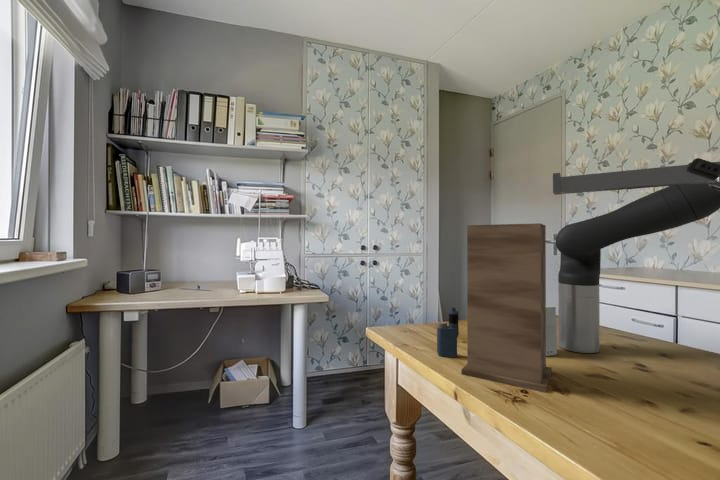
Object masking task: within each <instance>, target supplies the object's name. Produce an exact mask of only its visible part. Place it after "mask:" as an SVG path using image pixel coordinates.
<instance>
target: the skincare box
mask: <svg viewBox="0 0 720 480" xmlns="http://www.w3.org/2000/svg"><path fill="white" fill-rule="evenodd" d="M556 314H557V313H556V306H551V305H546V357H551V356H555V355H557V354H558V342H557V341H558V336H557V333H558V332H557V316H556Z"/></svg>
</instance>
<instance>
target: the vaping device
mask: <svg viewBox="0 0 720 480" xmlns="http://www.w3.org/2000/svg"><path fill="white" fill-rule="evenodd" d="M459 334H460V332H459V311H458V310H456V307H451V310H448V322H446V321H440V322H438V325H437V329H436V353H437V355H438V357H443V358H458V356H459V355H458V336H459Z"/></svg>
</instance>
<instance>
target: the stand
mask: <svg viewBox="0 0 720 480" xmlns="http://www.w3.org/2000/svg"><path fill="white" fill-rule="evenodd" d="M466 227H467V228H466V231H467V232H466V233H467V236H466V237H467V239H466V241H467V246H466V247H467V248H466V249H467V250H466V253H467V254H466V259H467V262H466V265H467V267H466V269H467V270H466V272H467V273H466V275H467V279H466V281H467V285H466V288H467V289H466V291H467V292H466V293H467V294H466V295H467V297H466V298H467V299H466V300H467V304H466V305H467V307H466V309H467V314H466V315H467V316H466V317H467V336H466V337H467V340H466V341H467V363H466V364H465V366H463V367H462V369H461V375H463V376H469V377H472V378H473V377H474V378H478V379H482V380H486V381H491V382H496V383H499V384H505V385H510V386H514V387H519V388H522V389H523V388H524V389H527V390H534V391H537V392H543V393H547V390H548V387H549V383H550V380H551V379H550V378H551V376H552V371H553V370H552V367H550V366H547V356H546V304H547V301H546V299H547V298H546V296H547V295H546V294H547V293H546V289H547V287H546V286H547V285H546V284H547V281H546V279H547V278H546V276H547V273H546V271H547V268H546V263H547V262H546V261H547V260H546V254H547V253H546V250H547V249H546V248H547V247H546V242H547V241H546V238H547V237H546V235H547V234H546V232H547V231H546V225H545V224H543V223H509V224H508V223H507V224H506V223H505V224H504V223H503V224H477V225H476V224H475V225H474V224H469V225H466Z"/></svg>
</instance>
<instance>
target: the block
mask: <svg viewBox="0 0 720 480" xmlns="http://www.w3.org/2000/svg"><path fill="white" fill-rule="evenodd" d="M712 162H713V163H716V164H719V165H720V161H712ZM688 164H689V163H688ZM688 164H682V165H673V166H672V165H671V166H670V165H669V166H661V167H660V166H659V167H658V166H657V167H651V168H641V169H640V168H639V169H638V168H637V169H632V170H631V169H629V170H619V171H617V170H616V171H607V172H597V173H590V174H589V173H588V174H579V175H568V176H567V175H566V176H562V175H561V173H560V172H554V173H552V193H553V194H554V195H555V196H556V195H564V194H565V195H567V194H580V193H581V194H582V193H593V192H605V191H607V192H608V191H619V190H636V189H645V188H646V189H647V188H661V187H663V188H665V187H669V186H677V185H691V184H705V183H718V182H717V181H716V180H715V179H716V177H715V178H714V179H710V178H707V177H705V176H702V175H699V174H696V173H693V172H690V171H688V167H689V166H690V164H689V165H688Z"/></svg>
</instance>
